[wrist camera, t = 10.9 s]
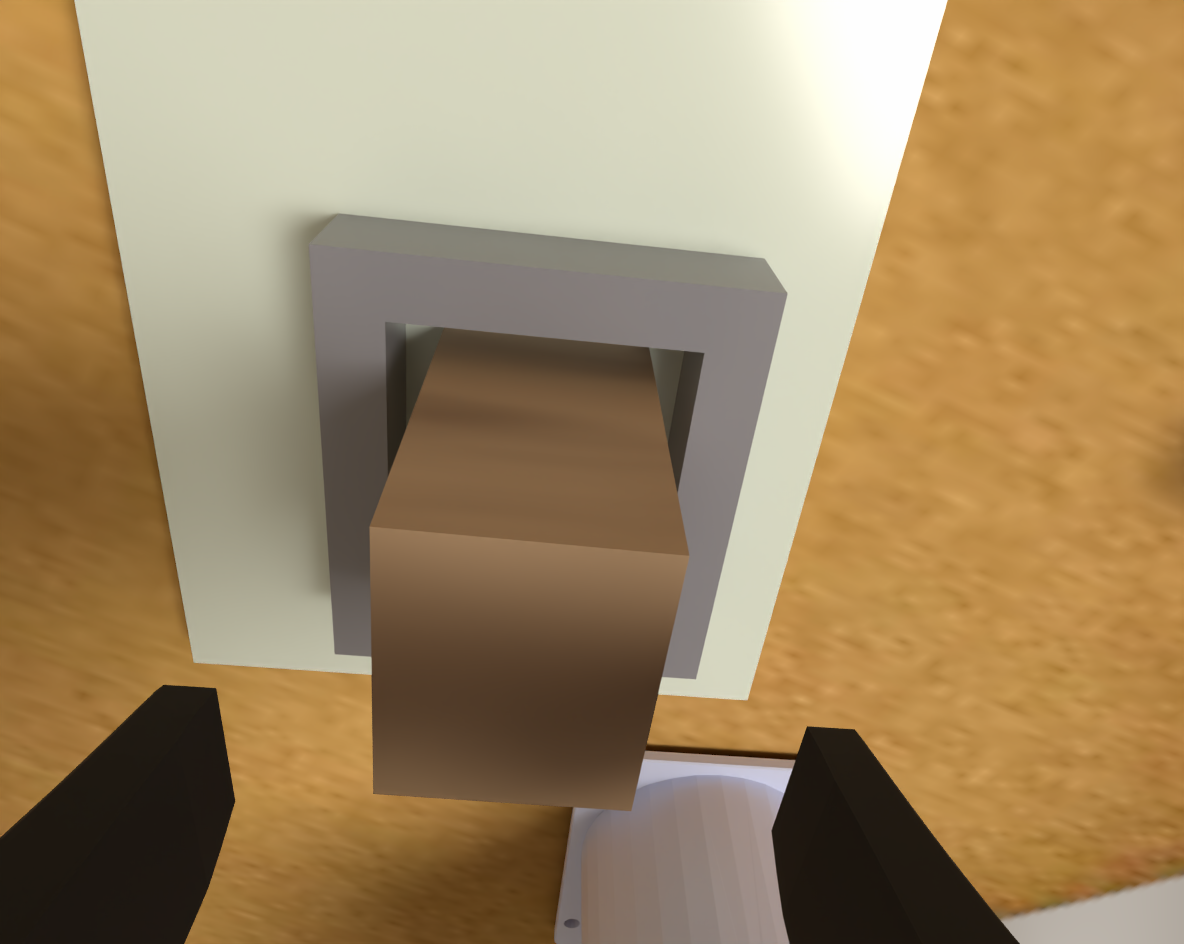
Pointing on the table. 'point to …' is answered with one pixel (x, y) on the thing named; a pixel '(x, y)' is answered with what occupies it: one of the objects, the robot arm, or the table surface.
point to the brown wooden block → (524, 575)
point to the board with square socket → (487, 264)
